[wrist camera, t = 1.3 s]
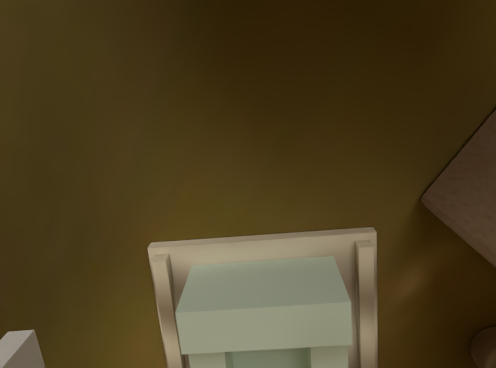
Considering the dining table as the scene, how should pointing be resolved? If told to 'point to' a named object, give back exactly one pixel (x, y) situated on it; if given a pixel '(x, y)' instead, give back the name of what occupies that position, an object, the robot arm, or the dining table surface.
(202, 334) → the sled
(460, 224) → the wooden block
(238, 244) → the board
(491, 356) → the dowel
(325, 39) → the dining table surface
